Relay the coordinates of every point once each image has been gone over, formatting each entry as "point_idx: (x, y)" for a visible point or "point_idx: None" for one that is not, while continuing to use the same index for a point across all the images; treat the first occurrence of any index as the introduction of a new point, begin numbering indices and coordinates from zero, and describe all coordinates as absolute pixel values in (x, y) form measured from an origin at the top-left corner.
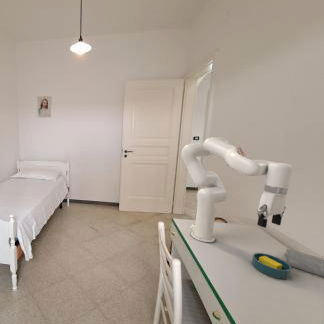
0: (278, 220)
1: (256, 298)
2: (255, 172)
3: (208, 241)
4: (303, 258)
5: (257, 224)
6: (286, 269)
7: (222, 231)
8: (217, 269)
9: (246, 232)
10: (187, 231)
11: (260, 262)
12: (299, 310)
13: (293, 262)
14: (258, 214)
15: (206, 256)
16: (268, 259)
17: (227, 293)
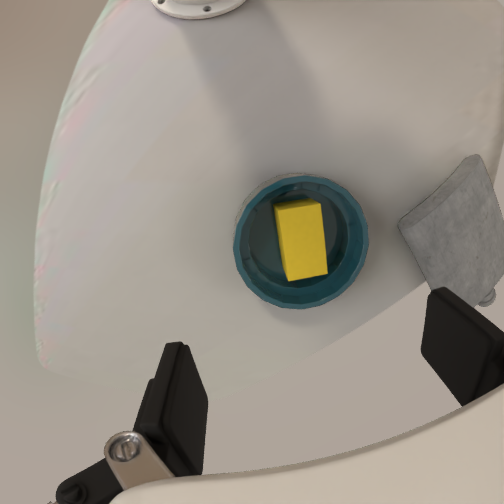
0: (447, 373)
1: (111, 342)
2: None
3: (186, 17)
4: (461, 232)
5: (168, 343)
6: (336, 272)
7: None
8: (75, 217)
9: (452, 10)
10: None
11: (237, 250)
12: None
13: (413, 238)
14: (68, 489)
15: (88, 131)
16: (304, 234)
17: (50, 316)
